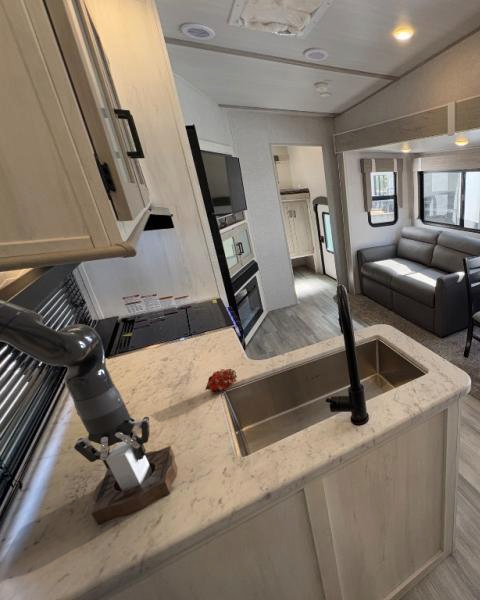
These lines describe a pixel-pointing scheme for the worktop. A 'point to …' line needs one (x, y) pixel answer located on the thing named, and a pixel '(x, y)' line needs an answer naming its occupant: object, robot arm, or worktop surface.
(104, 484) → the hole block
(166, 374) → the worktop surface
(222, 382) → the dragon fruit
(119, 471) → the cosmetic box
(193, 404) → the worktop surface
